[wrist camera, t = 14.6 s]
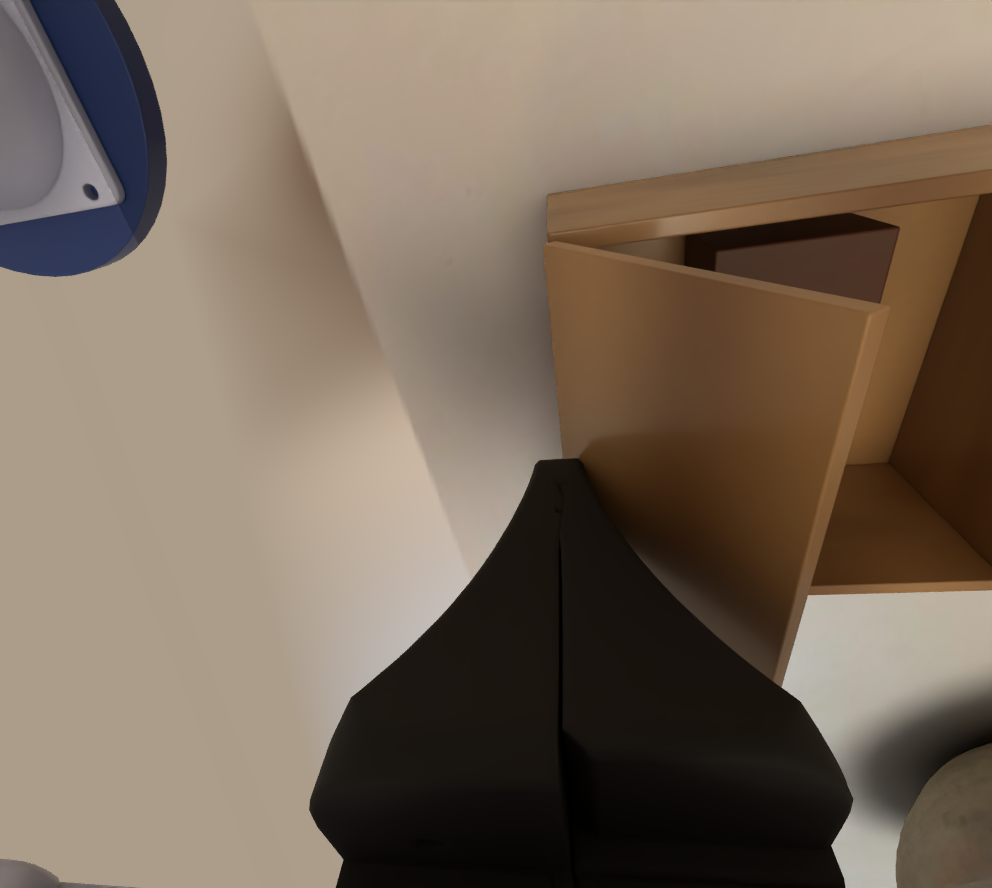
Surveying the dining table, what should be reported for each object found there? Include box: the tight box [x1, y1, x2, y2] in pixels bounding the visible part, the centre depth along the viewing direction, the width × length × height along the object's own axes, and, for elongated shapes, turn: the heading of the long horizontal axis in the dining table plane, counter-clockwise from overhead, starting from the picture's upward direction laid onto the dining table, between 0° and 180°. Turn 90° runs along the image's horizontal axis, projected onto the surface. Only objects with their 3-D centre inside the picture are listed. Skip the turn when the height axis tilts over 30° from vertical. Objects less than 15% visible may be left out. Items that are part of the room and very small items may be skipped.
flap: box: [543, 241, 890, 687], centre depth 10 cm, size 6×11×1 cm
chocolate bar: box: [684, 213, 900, 304], centre depth 15 cm, size 8×4×3 cm, turn 9°
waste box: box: [547, 125, 992, 595], centre depth 14 cm, size 12×11×6 cm
